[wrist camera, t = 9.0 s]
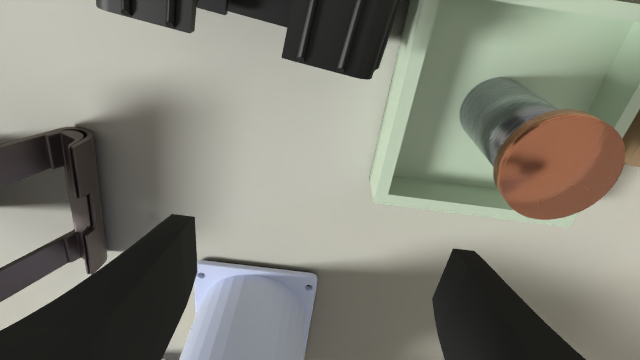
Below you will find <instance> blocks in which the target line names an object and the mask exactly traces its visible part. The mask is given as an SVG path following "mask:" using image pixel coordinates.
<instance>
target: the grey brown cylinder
mask: <svg viewBox="0 0 640 360" xmlns="http://www.w3.org/2000/svg"><path fill="white" fill-rule="evenodd" d="M459 117H460V123H461V126H462V128H463V129H464V131H465V132H466V133H467V135H468V136H469V137H470V138H471V140H472V141H473V142H474V143H475V145H476V146H477V147H478V148H479V150H480V151H481V152H482V153H483V155H484V156H485V157H486V158H487V160H488V161H489V162H490V163H491V165H492V166H493V178H494V182H495V185H496V187H497V189H498V191H499V192H500V194H501V195H502V196H503V198H504V199H505V200H506V202H507V203H508V205H509V206H510V207H511V208H512V209H513V210H515V211H516V212H517V213H519V214H521V215H523V216H526V217H528V218H533V219H539V220H551V219H559V218H563V217H567V216H570V215H573V214H576V213H578V212H580V211H582V210H584V209H586V208H588V207H589V206H591V205H593V204H594V203H595V202H597V201H598V200H599V199H601V198H602V197H603V196H604V195H605V194H606V193H607V192H608V191H609V190H610V189H611V188H612V186H613V185H614V184H615V182H616V181H617V179H618V177H619V176H620V174H621V171H622V169H623V166H624V162H625V146H624V142H623V140H622V137H621V136H620V134H619V133H618V132H617V131H616V130H615V129H614V128H613V127H612V126H610V125H609V124H607V123H606V122H604V121H602V120H600V119H599V118H597V117H595V116H594V115H592V114H590V113H587V112H585V111H581V110H574V109H561V110H560V109H558V108H557V107H555V106H554V105H552V104H551V103H549V102H547V101H546V100H544V99H543V98H541V97H540V96H538V95H537V94H535V93H534V92H532V91H530V90H529V89H527V88H526V87H524V86H523V85H521V84H520V83H518V82H516V81H515V80H512V79H510V78H504V77H497V78H492V79H488V80H486V81H483V82H482V83H480V84H478V85H477V86H475V87H474V88H473V89H472V90H471V91H470V92H469V93H468V94H467V96H466V97H465V99H464V100H463V103H462V105H461V108H460V116H459Z"/></svg>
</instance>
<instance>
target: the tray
mask: <svg viewBox="0 0 640 360" xmlns="http://www.w3.org/2000/svg"><path fill="white" fill-rule="evenodd" d="M497 77H504V78H510V79H512V80H515V81H516V82H518V83H520V84H521V85H523V86H524V87H526V88H527V89H529V90H530V91H532V92H534V93H535V94H537V95H538V96H540V97H541V98H543V99H544V100H546V101H547V102H549V103H551V104H552V105H554V106H555V107H557V108H558V109H560V110H561V109H574V110H581V111H585V112H587V113H590V114H592V115H594V116H595V117H597V118H599V119H600V120H602V121H604V122H606V123H607V124H609V125H610V126H612V127H613V128H614V129H615V130H616V131H617V132H618V133H619V134H620V136H621V137H622V138H623V136H624V135H625V133H626V131H627V130H628V128H629V126H630V125H631V123H632V121H633V120H634V118H635V116H636V114H637V113H638V111H639V109H640V4H636V3H629V2H622V1H616V0H410V2H409V7H408V11H407V16H406V20H405V24H404V29H403V33H402V37H401V42H400V46H399V50H398V55H397V59H396V64H395V68H394V72H393V77H392V81H391V85H390V90H389V94H388V99H387V103H386V107H385V112H384V116H383V120H382V125H381V129H380V133H379V138H378V142H377V147H376V151H375V155H374V160H373V164H372V168H371V173H370V177H369V179H370V185H371V191H372V197H373V202H374V203H378V204H386V205H394V206H402V207H410V208H418V209H426V210H434V211H442V212H450V213H458V214H466V215H474V216H482V217H490V218H498V219H506V220H514V221H522V222H530V223H538V224H546V225H554V226H562V227H570V226H571V225H572V223H573V221H574V220H575V218H576V216H577V215H578V213H579V212H578V213H576V214H573V215H570V216H567V217H563V218H559V219H551V220H539V219H533V218H528V217H526V216H523V215H521V214H519V213H517V212H516V211H515V210H513V209H512V208H511V207H510V206H509V205H508V203H507V202H506V200H505V199H504V198H503V196H502V195H501V194H500V192H499V191H498V189H497V187H496V185H495V182H494V178H493V166H492V165H491V163H490V162H489V161H488V160H487V158H486V157H485V156H484V155H483V153H482V152H481V151H480V150H479V148H478V147H477V146H476V145H475V143H474V142H473V141H472V140H471V138H470V137H469V136H468V135H467V133H466V132H465V131H464V129H463V128H462V126H461V123H460V117H459V116H460V108H461V105H462V103H463V100H464V99H465V97H466V96H467V94H468V93H469V92H470V91H471V90H472V89H473V88H474V87H475V86H477V85H478V84H480V83H482V82H483V81H486V80H488V79H492V78H497Z"/></svg>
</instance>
